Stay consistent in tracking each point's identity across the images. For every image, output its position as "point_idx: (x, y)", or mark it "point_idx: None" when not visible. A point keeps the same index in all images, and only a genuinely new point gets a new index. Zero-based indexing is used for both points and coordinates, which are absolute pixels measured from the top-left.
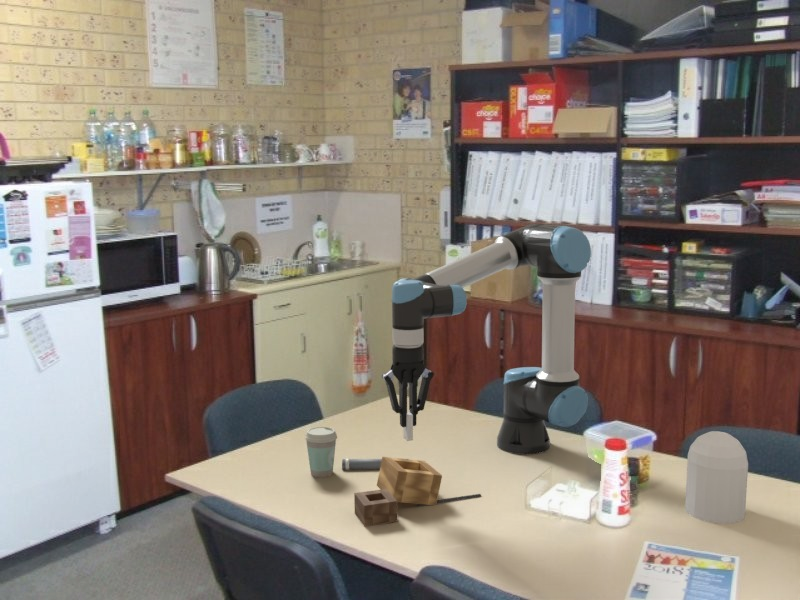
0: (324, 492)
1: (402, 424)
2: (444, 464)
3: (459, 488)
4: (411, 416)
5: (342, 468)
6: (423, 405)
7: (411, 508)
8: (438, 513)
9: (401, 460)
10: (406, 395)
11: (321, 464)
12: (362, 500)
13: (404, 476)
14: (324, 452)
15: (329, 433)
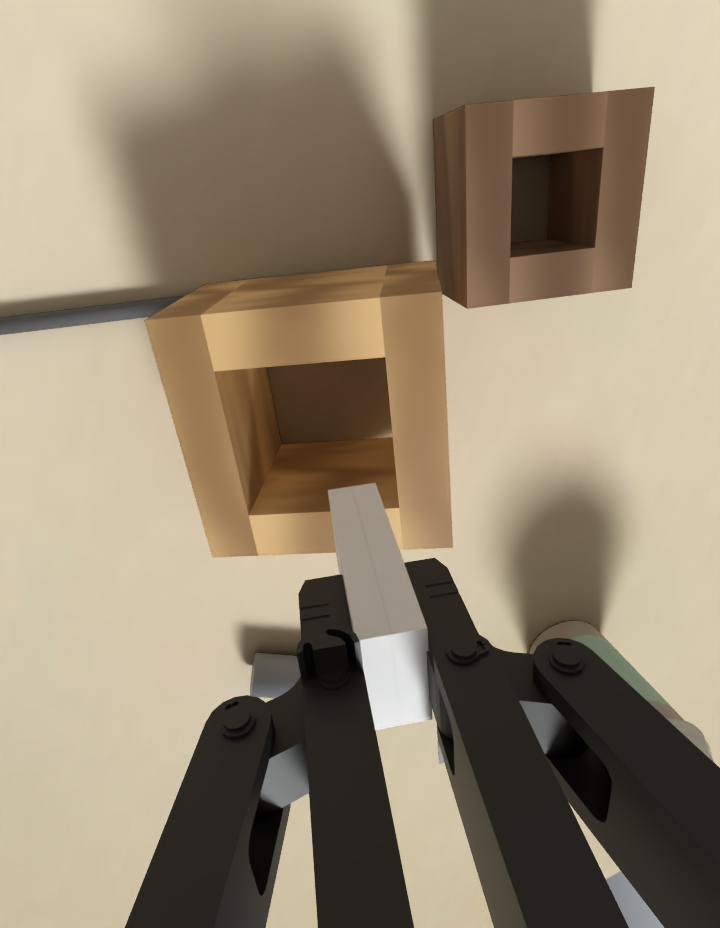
0: (612, 500)
1: (443, 573)
2: (101, 686)
3: (63, 449)
4: (370, 622)
5: None
6: (208, 758)
7: (329, 267)
8: (211, 169)
9: None
10: (527, 896)
11: (604, 652)
12: (634, 170)
13: (393, 290)
14: None
15: None
